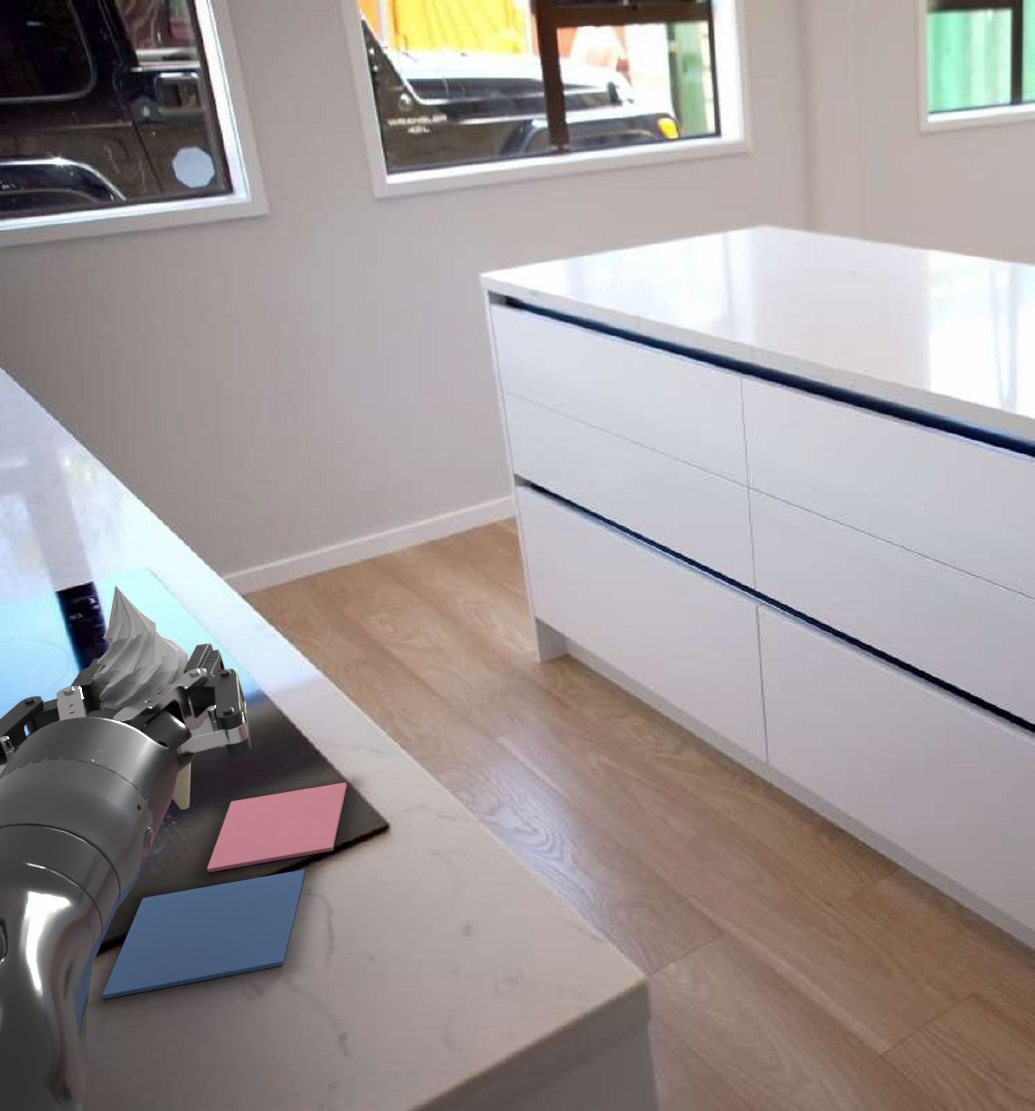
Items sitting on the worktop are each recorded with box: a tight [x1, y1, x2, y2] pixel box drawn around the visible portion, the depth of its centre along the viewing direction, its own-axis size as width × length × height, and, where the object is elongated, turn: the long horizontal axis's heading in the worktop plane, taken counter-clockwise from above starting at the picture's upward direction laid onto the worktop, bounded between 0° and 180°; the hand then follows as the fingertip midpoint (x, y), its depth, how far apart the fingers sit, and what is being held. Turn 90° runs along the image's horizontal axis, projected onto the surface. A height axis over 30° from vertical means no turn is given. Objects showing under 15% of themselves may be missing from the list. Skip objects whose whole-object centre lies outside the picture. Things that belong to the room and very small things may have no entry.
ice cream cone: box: [93, 585, 192, 811], centre depth 74 cm, size 5×5×15 cm
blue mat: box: [101, 869, 306, 1000], centre depth 79 cm, size 10×9×1 cm
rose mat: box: [206, 781, 348, 873], centre depth 89 cm, size 8×8×1 cm
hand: (157, 665), depth 76 cm, fingers closed on ice cream cone, 5 cm apart
